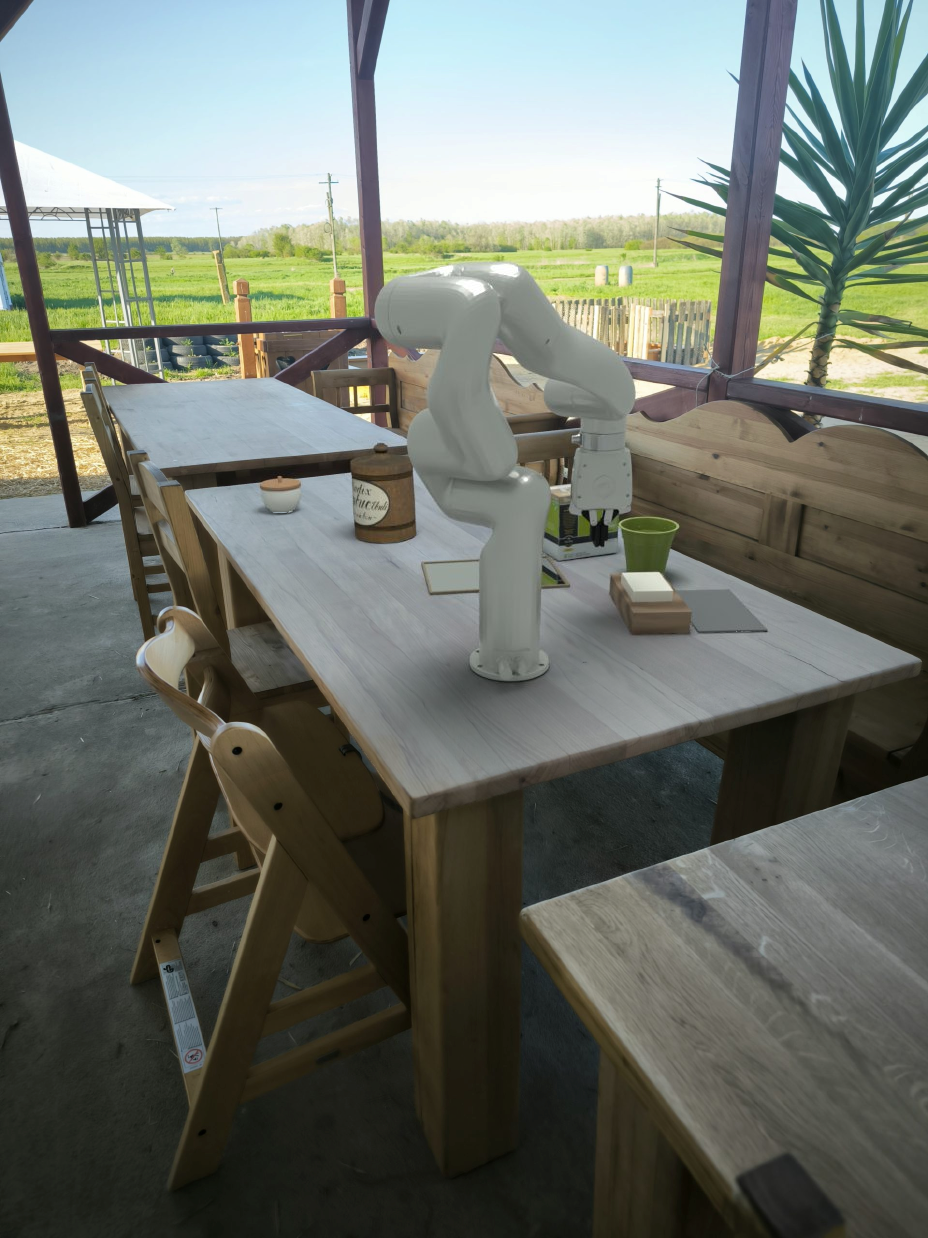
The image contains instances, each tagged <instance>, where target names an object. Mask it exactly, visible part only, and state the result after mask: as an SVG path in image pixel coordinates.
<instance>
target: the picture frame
mask: <svg viewBox="0 0 928 1238" xmlns="http://www.w3.org/2000/svg"><path fill="white" fill-rule="evenodd" d="M420 565H421V568H422V571H423V572H422V573H423V574H424V578H425V582H426V586H427V590H428V594H429V596H441V595H443V596H444V595H458V594H461V595H463V594H477V593H478V594H479V558H469V559H468V558H466V559H451V560H450V559H449V560H446V559H445V560H432V561H431V560H430V561H421V563H420ZM563 588H564V589H565V588H568V589H569V588H571V584H570V583H569V581H568V580H567V578H565V576H564V574H562V572H561V571H560V570H559V569H558V566H557V565H556V564H555V562H554V561H553V560H552V559H551V556H549V555H548V554H546V555H542V581H541V590H547V589H563Z"/></svg>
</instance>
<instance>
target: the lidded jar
mask: <svg viewBox="0 0 928 1238" xmlns="http://www.w3.org/2000/svg"><path fill="white" fill-rule="evenodd" d="M301 486H302V481H300V480H299V479H296V478H288V477H287V478H283V477H282V476H280V475H279V476H277V478H272V479H267V480H264V481H262V482H260V483H259V489H260V496H261V500H262V502H263V504H264V506H265V507H266V508H267V509H268V510H269V511H270V512H271V511H272V512H289V511H293V510H294V511H295V509H296V508H297V507H298V506H299V504H300V502H301V498H302V487H301ZM272 512H271V513H272Z"/></svg>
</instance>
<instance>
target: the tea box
mask: <svg viewBox="0 0 928 1238" xmlns="http://www.w3.org/2000/svg"><path fill="white" fill-rule="evenodd" d="M549 486H550V489H551V504H550V509H549V514H548V518H547V523H546V528H545V533H544V541H543V553H544V554H546V555H548V556H549V557H550V558H552V559H554V560H556V561H558V562H560V561H567V560H575V559H581V558H587V557H594V556H595V557H596V556H601V555H609V554H616V553H618V544H619V543H618V542H619V537H618V536H619V525H618V524H619V522H620V519H619V518H620V514H618V515H617V516H616V517H615V518H614V519H613V520H612V521H611V523H610V524H609V525H608V541H605V545H604V547H601V546H600V545H599V546H598V547H595V546H594V544H593V542H592V541H590V522H588V521H587V520H586V519H585V518H584V517H583V516H581V515H575V514H571V513H570V511H569V506H570V503H571V497H570V490H571V483H567V484H559V485H552V486H551V485H549ZM602 511H603V510H596V514H597V520H598V521H600V518H601V516H602Z"/></svg>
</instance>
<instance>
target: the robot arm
mask: <svg viewBox="0 0 928 1238" xmlns="http://www.w3.org/2000/svg"><path fill="white" fill-rule="evenodd" d="M373 312H374V320H375V324H376V327H377V329H378V331H379V333H380V334H381V336H382V337H383V338H384V339H385V340H386V342H388V343H389V344H391V345H392V346H395V347H397V348H404V349H417V350H419V349H420V350H440V352H439V355H438V357H437V360H436V365H435V367H434V370H433V372H432V374H431V376H430V379H429V380H428V385H427V389H426V393H425V394H426V395H425V397H426V404H427V408H425V409H422V410H421V411H419V412H418V413H417V414H416V415H415V416H414V418H413V419H412V420H411V422H410V424H409V427H408V431H407V436H406V447H407V454H408V455H407V456H408V457H409V458H410V461H411V464H412V466H413V470H414V472H415V473H416V475H417V476H418V477H419V480H421V482H422V483H423V486H424V488H426V491H428V493H429V495H430V496H431V498H432V499H433V501H434V503H435V504H436V506H437V507H438V509H439V510H440V511H441V512H442V513H443V514H444V515H445V516H446V517H447V518H449V519H451V520H453V521H455V522H456V521H457V522H459V523H465V524H471V525H473V526H474V525H475V526H480V527H484V528H487V529H490V530H492V533H491V536H490V537H489V539H488V540H487V542H486V543H485V545H484V546H483V547H482V549H481V551H480V554H479V558H478V559H479V593H478V614H479V615H478V640H479V641H478V648H476V649H475V650H473V651H472V652H471V653H470V655H469V667H470V668H471V670H472V671H473V672H475V673H476V674H477V675H478V676H480V677H482V678H486V679H489V680H493V681H499V682H520V681H521V682H522V681H528V680H531V679H534V678H538V677H539V676H541V675H543V674H544V673H546V672H547V670H548V669H549V667H550V656H549V655H548V654H547V653H546V652H545V651H544V650H543V649H542V648H541V647H540V646H541V644H540V643H541V642H540V641H541V615H542V614H541V609H542V589H541V581H542V556H543V553H544V552H543V541H544V533H545V528H546V523H547V518H548V514H549V509H550V504H551V489H550V486H551V485H550V484H549V482H548V480H547V479H546V477H544V476H543V474H541V473H540V472H538V471H536V470H535V469H532V468H529V467H527V466H521V465H517V463H518V456H519V450H518V444H517V441H516V439H515V436H514V433H513V431H512V429H511V427H510V424H509V421H508V420H507V417H506V416H505V414H504V412H503V409H502V407H501V406H500V404H499V401H498V398H497V397H496V396H495V395H496V394H495V392H494V390H493V388H492V385H491V380H490V377H491V376H490V374H491V373H490V372H491V366H492V365H491V363H492V359H493V355H494V352H495V348H496V343H497V340H498V341H499V342H500V343H501V345H503V347H504V348H505V349H506V350H507V352H508V353H510V355H511V356H512V357H513V358H514V360H515V361H516V362H517V363H518V364H519V365H520V366H521V367H522V368H523V369H524V370H527V371H528V372H531V373H533V374H535V375H539V376H540V377H543V378H547V380H546V381H545V382H546V383H545V384H544V387H543V393H542V394H543V401H544V404H545V406H546V407H547V409H548V410H549V411H550V412H551V413H553V414H555V415H557V416H559V417H563V418H564V417H565V418H575V419H580V429H579V432H578V434H573V435H571V444H576V445H579V447H577V448H576V449H575V454H574V457H573V464H572V471H571V472H572V473H571V479H570V480H571V481H570V484H571V490H570V497H571V503H570V506H569V511H570V513H571V514H575V515H581V516H583V517H584V518H585V519H586V520H587V521H588V522H590V541H592V542H593V544H594V546H595V547H598V546H599V545H600V546H601V547H604V545H605V541H608V525H609V524H610V523H611V521H612V520H613V519H614V518H615V517H616V516H617V515H618V514H619V515H623V514H626V513H629V512H631V511H632V507H631V505H632V501H633V471H632V470H633V468H632V467H633V466H632V455H631V450H630V449H629V448H628V447H626V436H627V435H626V434H627V416H628V415H629V414H630V413H631V412H632V411H633V407H634V405H635V402H636V396H637V394H636V385H635V382H634V379H633V376H632V374H631V372H630V370H629V368H628V367H627V365H626V364H625V362H624V361H623V359H622V358H621V357H620V356H619V354H618V353H617V352H616V351H614V349H613V348H611V347H609V345H606V344H605V343H603V342H601V340H598V339H596V338H595V337H594V336H591V335H589V334H587V333H585V332H584V331H582V330H581V329H579V328H577V327H575V326H572V325H571V324H569V323H567V322H566V321H564V319H563V318H562V316H561V315H560V313H559V312H558V311H557V310H556V308H555V306H554V305H553V304H552V303H551V301H550V300H549V298H548V297H547V295H546V294H545V293H544V291H543V289H541V287H540V285H539V284H538V283H537V282H536V280H535V279H534V277H533V276H532V274H530V272H529V271H528V270H527V269H526V268H525V267H524V266H522V265H520V264H519V263H516V262H511V261H470V262H468V261H467V262H459V263H451V264H447V265H443V266H439V267H434V268H431V269H426V270H423V271H418V272H413V273H409V274H404V275H400V276H397V277H394V278H391V280H389V281H387V283H385V284H384V285H383V287H382V288H381V289H380V291H379V293H378V294H377V296H376V300H375V304H374V311H373ZM596 510H603V511H602V516H601V518H600V521H598V520H597V514H596Z"/></svg>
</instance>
